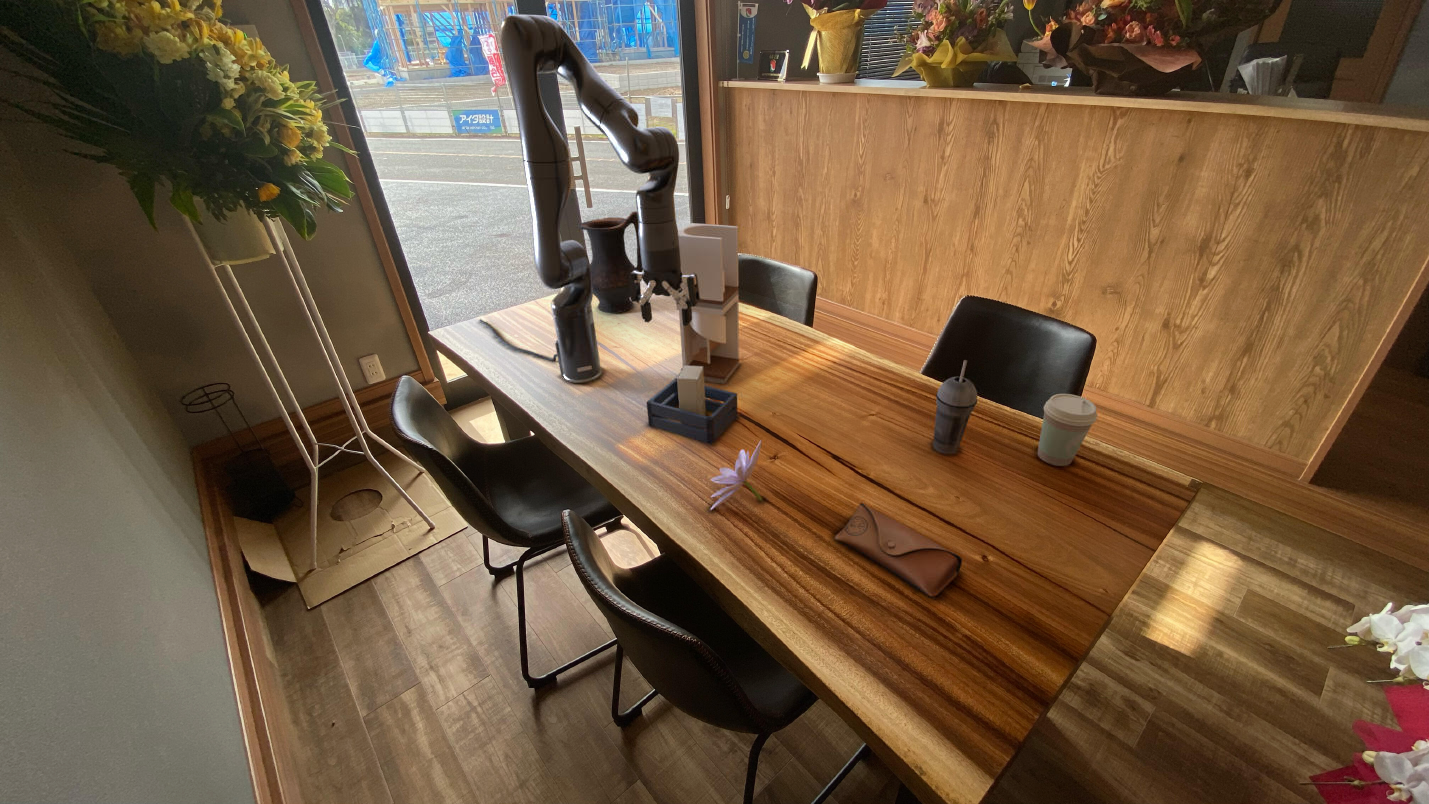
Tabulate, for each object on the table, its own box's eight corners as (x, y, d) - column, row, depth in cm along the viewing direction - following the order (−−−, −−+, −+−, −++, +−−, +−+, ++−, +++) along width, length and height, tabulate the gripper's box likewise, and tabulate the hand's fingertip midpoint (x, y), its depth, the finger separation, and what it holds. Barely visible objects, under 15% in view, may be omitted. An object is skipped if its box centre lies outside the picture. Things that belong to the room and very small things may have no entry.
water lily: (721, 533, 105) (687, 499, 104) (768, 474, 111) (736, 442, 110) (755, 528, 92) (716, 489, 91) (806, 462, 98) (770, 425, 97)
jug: (576, 318, 176) (560, 219, 160) (596, 296, 191) (583, 204, 176) (642, 321, 172) (632, 219, 157) (658, 298, 188) (650, 204, 172)
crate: (648, 425, 123) (646, 402, 120) (677, 400, 132) (675, 378, 129) (711, 444, 117) (710, 419, 114) (737, 416, 125) (737, 393, 122)
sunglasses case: (830, 538, 92) (845, 501, 92) (849, 535, 98) (863, 499, 97) (935, 600, 82) (953, 559, 81) (950, 593, 87) (967, 554, 86)
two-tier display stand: (681, 376, 142) (671, 235, 124) (698, 358, 150) (691, 223, 132) (724, 384, 138) (720, 239, 120) (739, 364, 146) (737, 226, 128)
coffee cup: (1060, 476, 105) (1080, 421, 99) (1019, 452, 111) (1036, 399, 105) (1089, 462, 108) (1110, 408, 102) (1048, 439, 115) (1066, 387, 109)
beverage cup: (964, 440, 115) (986, 351, 105) (965, 461, 110) (988, 369, 99) (926, 434, 117) (944, 346, 107) (925, 454, 112) (943, 364, 101)
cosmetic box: (700, 430, 121) (697, 380, 115) (680, 428, 122) (676, 378, 116) (706, 414, 127) (704, 365, 120) (687, 412, 127) (683, 364, 121)
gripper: (701, 240, 110) (706, 318, 118) (634, 237, 114) (643, 313, 122) (686, 250, 104) (692, 333, 112) (616, 247, 108) (627, 326, 116)
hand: (667, 322), depth 117 cm, fingers open, 8 cm apart
